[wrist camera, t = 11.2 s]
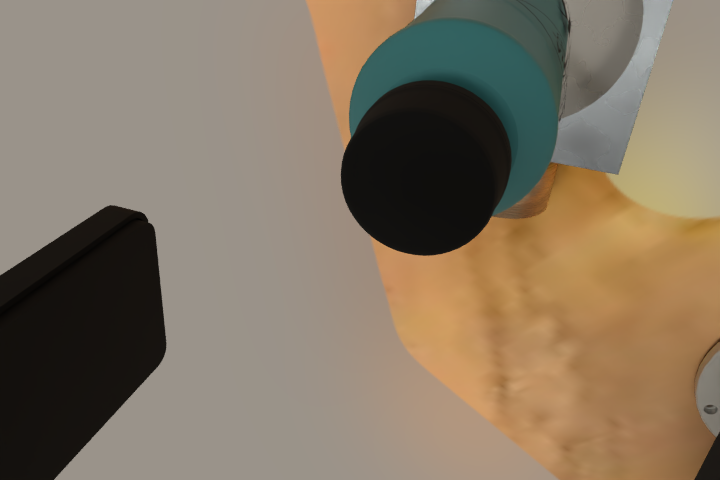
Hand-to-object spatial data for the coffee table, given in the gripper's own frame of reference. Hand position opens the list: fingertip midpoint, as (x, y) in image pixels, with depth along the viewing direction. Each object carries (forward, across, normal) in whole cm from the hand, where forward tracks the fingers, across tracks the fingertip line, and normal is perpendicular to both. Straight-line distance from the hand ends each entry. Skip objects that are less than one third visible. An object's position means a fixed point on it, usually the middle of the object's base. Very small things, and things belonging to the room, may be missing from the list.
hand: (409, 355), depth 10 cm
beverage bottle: (+26, +2, 0) cm, 26 cm away
